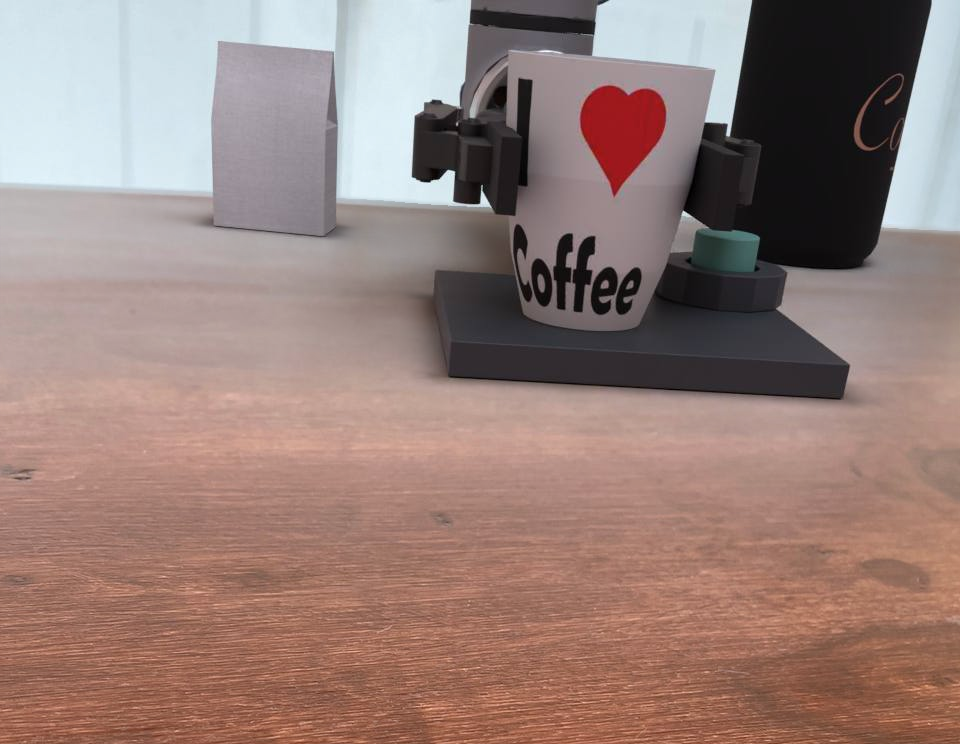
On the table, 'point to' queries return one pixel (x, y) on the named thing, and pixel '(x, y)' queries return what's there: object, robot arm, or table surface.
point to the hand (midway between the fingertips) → (619, 185)
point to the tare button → (725, 250)
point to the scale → (644, 336)
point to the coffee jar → (825, 122)
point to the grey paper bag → (274, 139)
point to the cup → (599, 181)
